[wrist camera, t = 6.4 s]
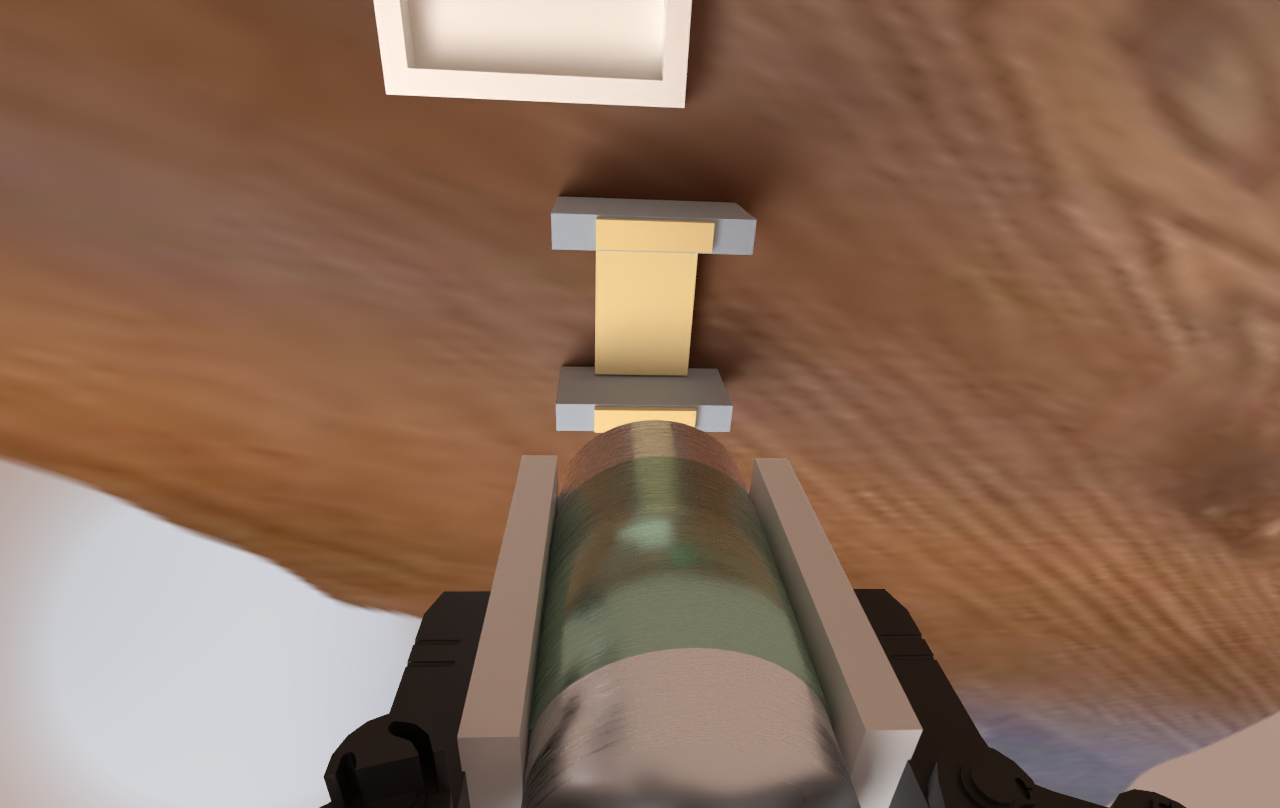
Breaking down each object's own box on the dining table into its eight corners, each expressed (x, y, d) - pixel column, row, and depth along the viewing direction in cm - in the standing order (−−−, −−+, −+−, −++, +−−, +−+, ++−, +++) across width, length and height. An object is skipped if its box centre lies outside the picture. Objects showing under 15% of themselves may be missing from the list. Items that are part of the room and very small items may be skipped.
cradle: (561, 390, 27) (556, 434, 24) (557, 196, 23) (550, 214, 20) (714, 392, 28) (731, 435, 24) (735, 202, 24) (758, 221, 20)
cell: (554, 416, 13) (491, 803, 6) (757, 419, 13) (933, 791, 6) (558, 574, 15) (514, 1006, 8) (734, 574, 15) (847, 990, 8)
